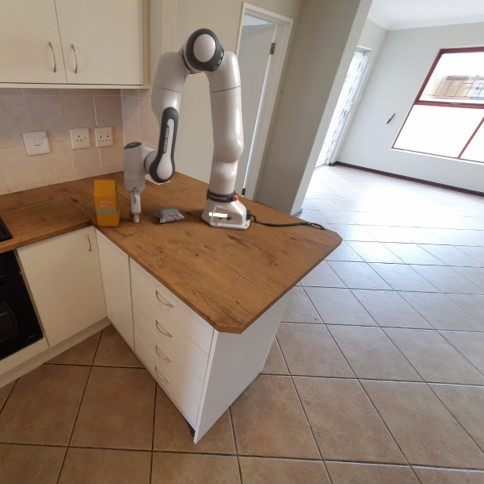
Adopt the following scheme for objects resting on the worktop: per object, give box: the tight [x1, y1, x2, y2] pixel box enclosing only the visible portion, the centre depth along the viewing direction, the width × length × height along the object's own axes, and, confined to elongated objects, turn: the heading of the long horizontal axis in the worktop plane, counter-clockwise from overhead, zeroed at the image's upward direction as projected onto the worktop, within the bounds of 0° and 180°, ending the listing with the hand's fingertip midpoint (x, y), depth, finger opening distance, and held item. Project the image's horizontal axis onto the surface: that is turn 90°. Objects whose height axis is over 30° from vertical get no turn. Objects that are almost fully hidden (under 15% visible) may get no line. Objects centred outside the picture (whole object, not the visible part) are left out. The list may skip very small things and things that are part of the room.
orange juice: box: [93, 178, 121, 227], centre depth 108 cm, size 8×9×20 cm
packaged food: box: [154, 207, 186, 224], centre depth 115 cm, size 9×12×5 cm
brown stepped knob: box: [128, 208, 143, 224], centre depth 113 cm, size 6×6×6 cm
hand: (136, 213), depth 112 cm, fingers open, 8 cm apart
